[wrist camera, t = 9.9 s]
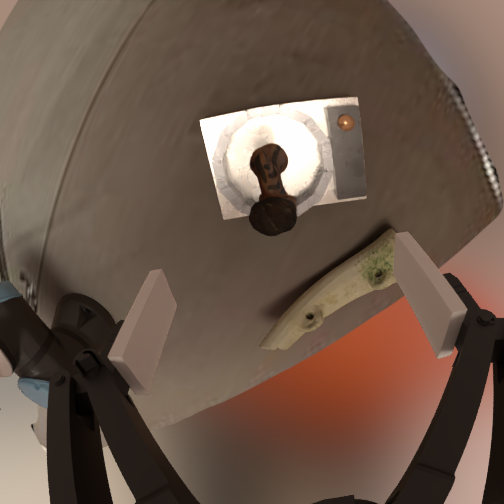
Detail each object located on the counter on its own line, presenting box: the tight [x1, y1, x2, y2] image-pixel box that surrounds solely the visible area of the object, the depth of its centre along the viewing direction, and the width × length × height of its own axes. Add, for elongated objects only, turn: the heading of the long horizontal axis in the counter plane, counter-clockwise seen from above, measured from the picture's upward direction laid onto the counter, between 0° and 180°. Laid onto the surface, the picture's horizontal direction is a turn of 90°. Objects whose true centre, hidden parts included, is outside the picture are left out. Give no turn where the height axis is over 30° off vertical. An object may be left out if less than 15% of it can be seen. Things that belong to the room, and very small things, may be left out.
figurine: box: [249, 143, 297, 236], centre depth 30 cm, size 7×5×18 cm
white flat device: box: [200, 96, 367, 220], centre depth 38 cm, size 20×14×6 cm
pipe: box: [259, 229, 397, 351], centre depth 47 cm, size 28×8×10 cm, turn 134°
